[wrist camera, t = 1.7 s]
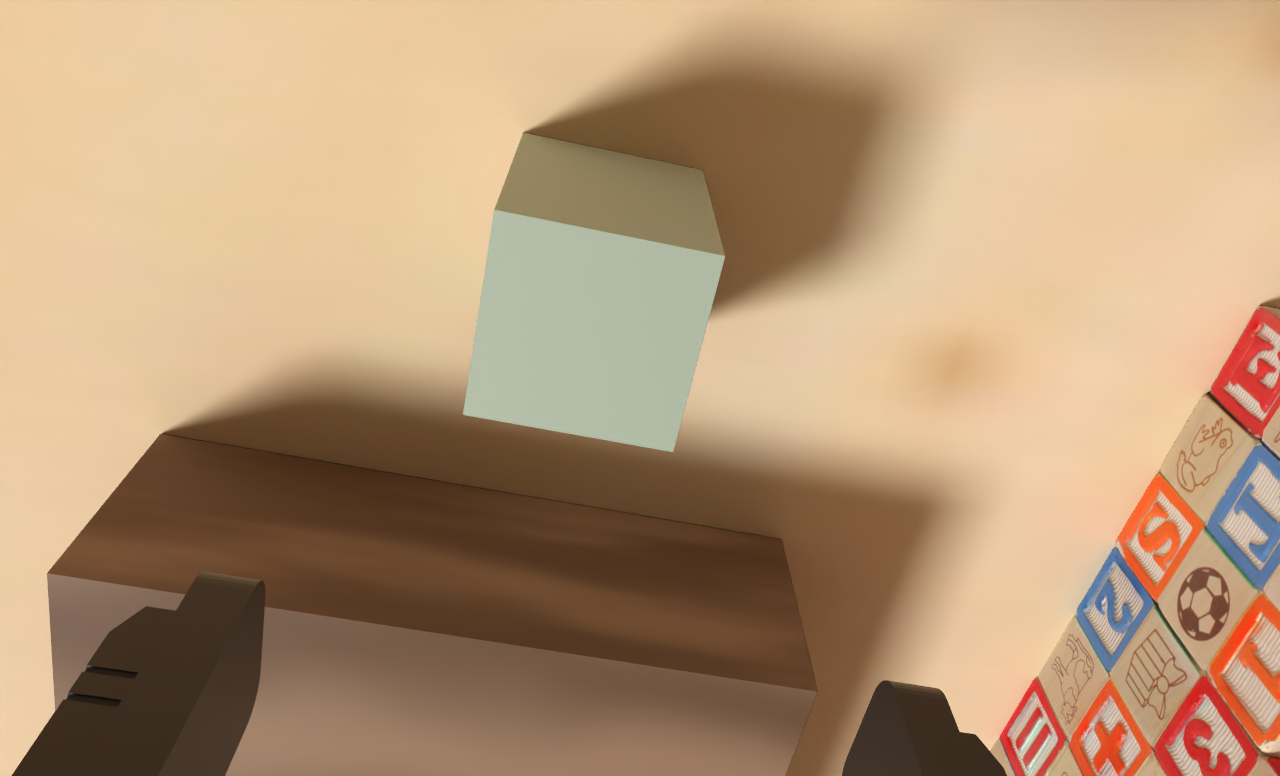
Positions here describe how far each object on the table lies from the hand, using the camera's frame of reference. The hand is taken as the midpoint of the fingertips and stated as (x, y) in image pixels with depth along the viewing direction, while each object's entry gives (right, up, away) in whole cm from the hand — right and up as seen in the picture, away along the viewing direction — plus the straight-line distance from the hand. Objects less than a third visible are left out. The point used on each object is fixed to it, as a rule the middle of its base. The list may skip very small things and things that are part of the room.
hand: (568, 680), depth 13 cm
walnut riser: (-6, -6, +23) cm, 25 cm away
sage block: (0, +8, +16) cm, 18 cm away
